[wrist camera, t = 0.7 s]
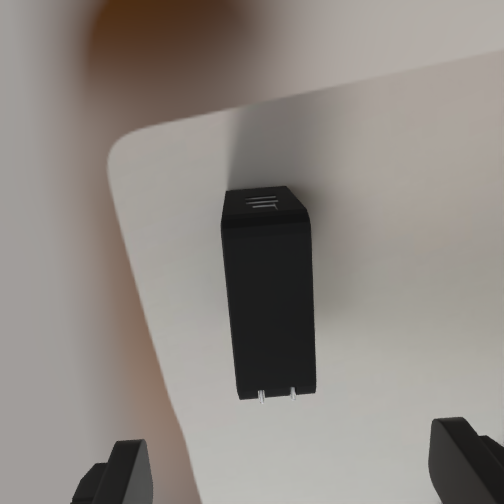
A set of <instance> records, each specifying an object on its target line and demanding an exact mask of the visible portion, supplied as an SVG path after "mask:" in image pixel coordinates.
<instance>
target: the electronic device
mask: <svg viewBox="0 0 504 504" xmlns="http://www.w3.org/2000/svg"><path fill="white" fill-rule="evenodd" d="M221 238H222V248H223V258H224V268H225V278H226V287H227V297H228V307H229V317H230V327H231V337H232V347H233V357H234V366H235V376H236V386H237V393H238V396H239V399H240V400H245V399H256V398H258V391H259V395H260V403H264V397H263V390H264V393H265V398H267V397H278V396H289V395H290V394H291V399H292V400H295V393H296V395H300V394H311V393H315V392H316V356H315V328H314V300H313V271H312V243H311V224H310V219H309V215H308V212H307V209H306V208H305V207H304V206H303V204H302V203H301V202H300V201H299V200H298V199H297V198H296V197H295V196H294V194H293V193H292V192H291V191H290V190H289V189H288V188H287V187H286V186H280V187H268V188H256V189H244V190H231V191H226V194H225V200H224V206H223V212H222V219H221Z"/></svg>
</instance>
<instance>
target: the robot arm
mask: <svg viewBox="0 0 504 504" xmlns="http://www.w3.org/2000/svg"><path fill="white" fill-rule="evenodd" d="M428 467H429V473H430V477H431V481H432V483H433V486H434V488H435V490H436V492H437V494H438V495H439V497H440V499H441V501H442V503H443V504H504V447H503V446H501V445H500V444H498V443H497V442H495V441H494V440H493V439H491V438H490V437H488V436H487V435H485V436H478V434H477V433H476V432H475V431H474V429H473V428H472V427H471V426H470V424H469V423H468V422H467V421H466V419H464V418H463V417H452V418H438V419H434V420H433V421H432V425H431V436H430V448H429V460H428ZM152 501H153V482H152V475H151V469H150V463H149V457H148V451H147V445H146V441H145V440H144V439H140V440H126V441H117V442H116V443H115V445H114V447H113V450H112V452H111V455H110V458H109V460H108V463H96V464H95V465H94V466H93V467H92V468H91V469H90V470H89V471H88V473H87V474H86V475H85V476H84V477H83V478H82V479H81V480H80V483H79V485H78V487H77V489H76V492H75V494H74V496H73V498H72V503H70V504H152Z"/></svg>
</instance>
